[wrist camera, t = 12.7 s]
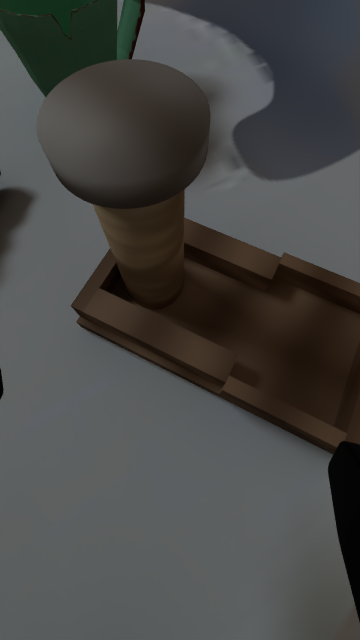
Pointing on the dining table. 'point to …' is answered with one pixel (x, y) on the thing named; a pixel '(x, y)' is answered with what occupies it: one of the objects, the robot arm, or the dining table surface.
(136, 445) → the dining table surface
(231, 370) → the tray
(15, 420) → the dining table surface
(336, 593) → the dining table surface
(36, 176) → the dining table surface
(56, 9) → the mug
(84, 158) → the peg
